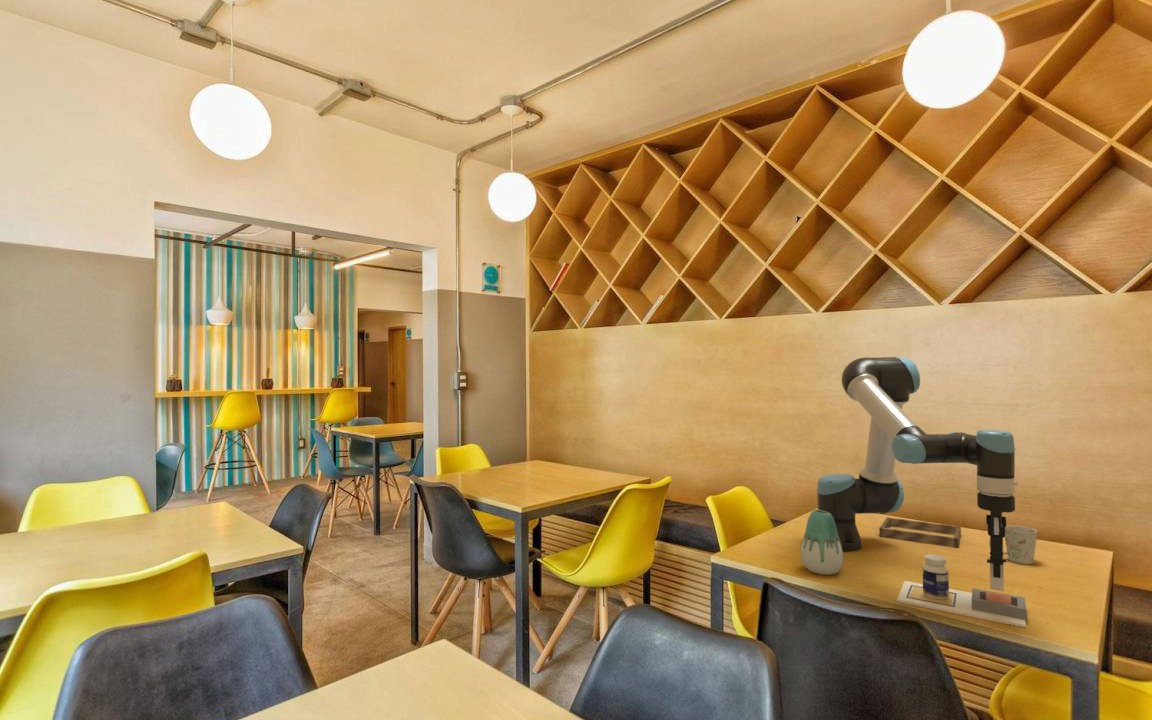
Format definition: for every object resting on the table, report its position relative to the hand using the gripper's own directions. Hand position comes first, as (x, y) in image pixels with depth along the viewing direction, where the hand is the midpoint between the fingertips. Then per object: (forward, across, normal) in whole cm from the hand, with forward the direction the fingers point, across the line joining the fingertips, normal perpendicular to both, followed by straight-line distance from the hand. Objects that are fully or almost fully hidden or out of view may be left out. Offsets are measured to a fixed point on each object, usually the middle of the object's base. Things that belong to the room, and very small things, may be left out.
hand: (996, 589), depth 141 cm
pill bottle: (+5, 0, +13) cm, 14 cm away
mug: (+6, +48, -4) cm, 48 cm away
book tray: (+6, +63, +22) cm, 67 cm away
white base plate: (+5, 0, +8) cm, 9 cm away
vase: (+6, +5, +42) cm, 42 cm away
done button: (+5, 0, 0) cm, 5 cm away
